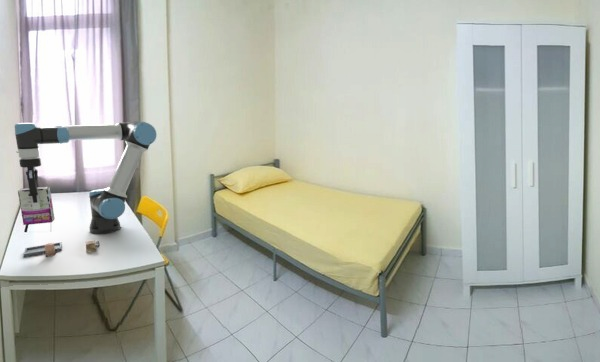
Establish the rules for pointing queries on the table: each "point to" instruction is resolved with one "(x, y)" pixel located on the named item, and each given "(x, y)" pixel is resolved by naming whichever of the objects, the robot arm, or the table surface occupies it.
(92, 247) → the oak cube
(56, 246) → the slate tray
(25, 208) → the candy bar box
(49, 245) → the brown small cube
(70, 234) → the table surface
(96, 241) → the dark gray slab
